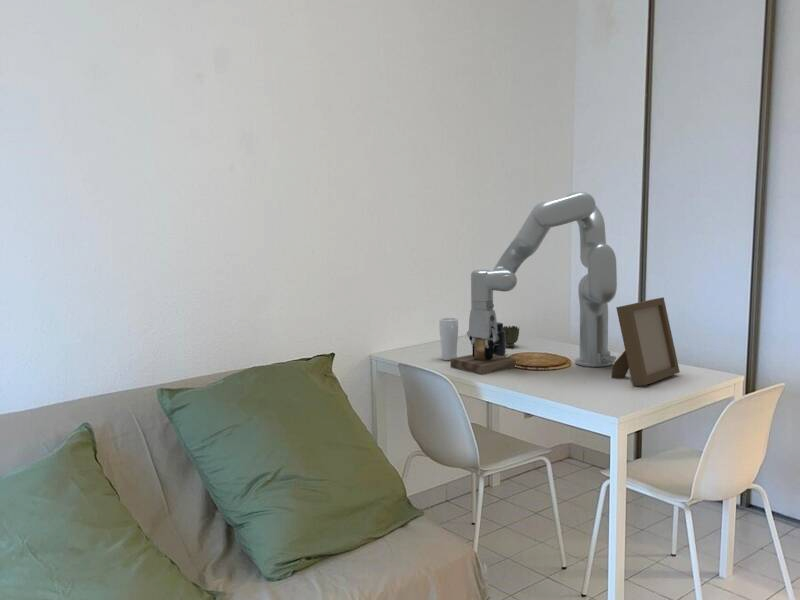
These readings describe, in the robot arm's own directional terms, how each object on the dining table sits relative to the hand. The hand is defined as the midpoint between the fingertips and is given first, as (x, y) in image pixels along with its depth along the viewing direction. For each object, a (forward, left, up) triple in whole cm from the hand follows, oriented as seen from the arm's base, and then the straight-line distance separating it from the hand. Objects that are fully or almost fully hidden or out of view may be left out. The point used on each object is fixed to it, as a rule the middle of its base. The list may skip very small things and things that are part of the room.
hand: (482, 356), depth 264 cm
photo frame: (-46, -26, -4) cm, 53 cm away
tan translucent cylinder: (0, 0, -3) cm, 3 cm away
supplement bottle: (+12, -18, -4) cm, 22 cm away
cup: (+19, -32, -4) cm, 37 cm away
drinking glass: (+18, 0, -4) cm, 18 cm away
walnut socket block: (0, 0, -4) cm, 4 cm away
